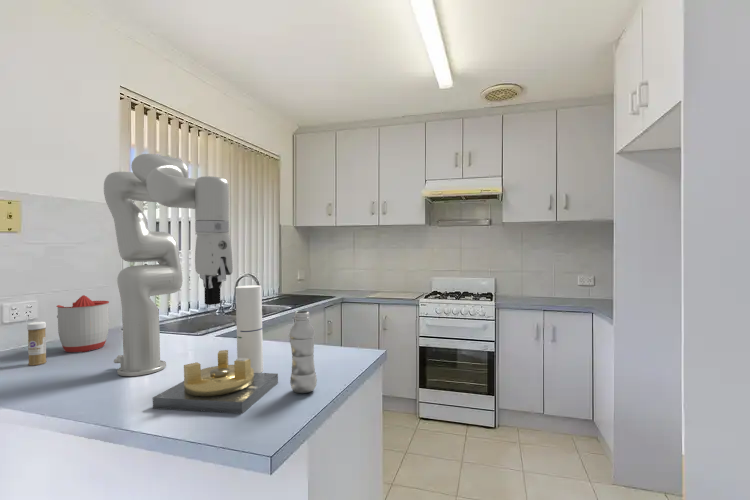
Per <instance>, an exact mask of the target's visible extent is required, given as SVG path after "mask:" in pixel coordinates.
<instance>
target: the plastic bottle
mask: <svg viewBox="0 0 750 500" xmlns="http://www.w3.org/2000/svg"><path fill="white" fill-rule="evenodd" d="M293 318H294V321H295V322H293V324H292V326H291V328H290V329H289V333H288V336H289V343H290V349H291V373H290V380H289V381H290V382H289V384H290V388H291V390H292V391H293V392H295V393H297V394H306V393H307V394H308V393H311V392H314V390H315V389H316V387H317V383H318V382H317V381H318V379H317V374H316V373H317V372H316V368H315V360H314V351H315V350H314V349H315V341H316V340H315V339H316V338H315V337H316V330H315V328H314V326H313V324H311V322H310V319H311V317H310V311H308V310H297V311H295V312H294V317H293Z"/></svg>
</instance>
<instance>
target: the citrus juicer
mask: <svg viewBox="0 0 750 500" xmlns="http://www.w3.org/2000/svg"><path fill="white" fill-rule="evenodd" d="M109 303H110V301H109V300H92V299H90V298H89V297H88V296H86V295H84V294H83V295H81V296H79V298H78V299H76V301H75V302H72V305H71V306H64V305H60V304H58V305H56V307H57V315H56V318H57V331H58V332H57V333H58V337H59V340H60V343H61V347H62V349H63V350H64V352H67V353H79V352H81V353H87V352H89V351H93V350H96V349H97V350H98V349H100V348H101V349H102V348H103V347H104V346H105V344H106V342H107V339H108V335H109V330H110V329H109V328H110V319H109V318H110V315H109V309H110V308H109Z"/></svg>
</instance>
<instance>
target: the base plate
mask: <svg viewBox="0 0 750 500" xmlns="http://www.w3.org/2000/svg"><path fill="white" fill-rule="evenodd" d="M278 383H279V374H278V373H269V372H261V373H254V381H253V383H252V384H251V385H249V386H248V387H246V388H244V389H241V390H238V391H235V392H232V393H227V394H222V395H215V396H196V395H191V394H188V393H186V392H185V390H184V380H183V381H181V382H179V383H177V384H176V385H174V386H172V387H170V388H168V389H166V390H164V391H162V392H161V393H158V394H157V395H155V396H153V397H152V409H154V410H155V409H156V410H170V411H171V410H172V411H190V412H206V413H207V412H208V413H209V412H210V413H227V414H244V413H245V412H246V411H247V410H248V409H249V408H251V407H252V406H253V405H254V404H256V402H258V401H259V400H261V398H262V397H264V396H265V395H266V394H267V393H268V392H270V390H272V389H273V388H274V387H276V385H278Z"/></svg>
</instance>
